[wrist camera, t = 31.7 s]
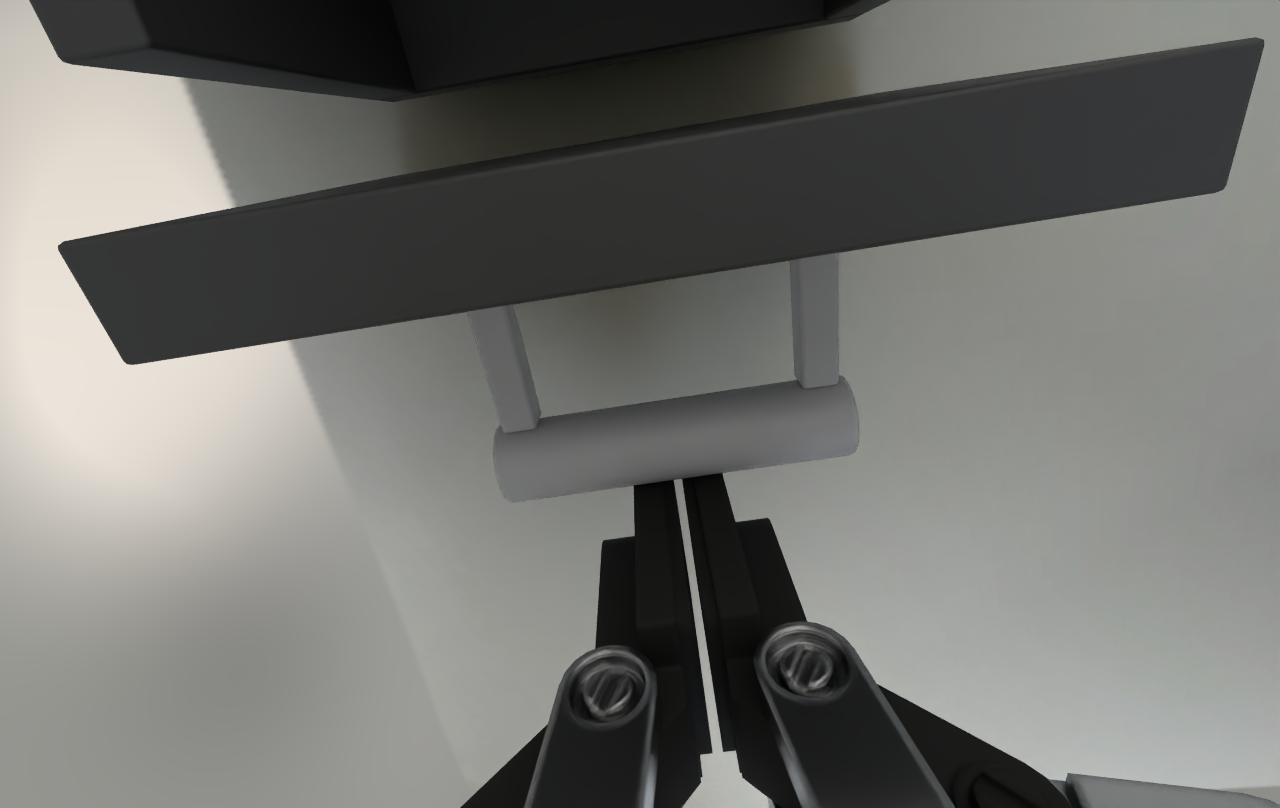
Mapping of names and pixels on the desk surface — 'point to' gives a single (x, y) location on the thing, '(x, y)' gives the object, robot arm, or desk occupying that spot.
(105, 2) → the drawer
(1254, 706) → the desk surface
